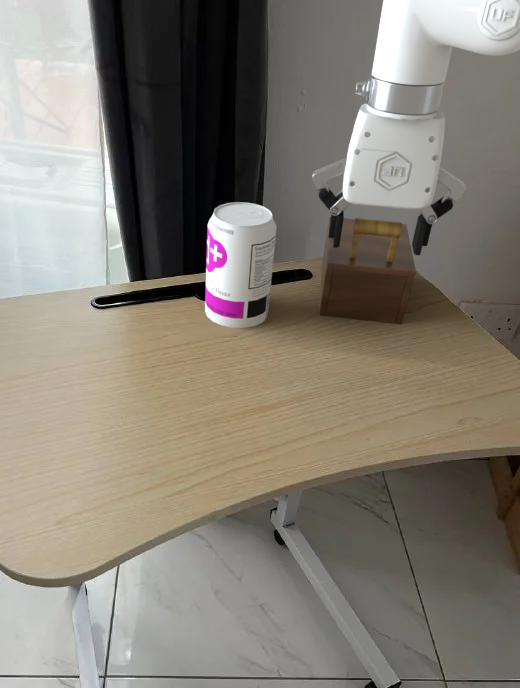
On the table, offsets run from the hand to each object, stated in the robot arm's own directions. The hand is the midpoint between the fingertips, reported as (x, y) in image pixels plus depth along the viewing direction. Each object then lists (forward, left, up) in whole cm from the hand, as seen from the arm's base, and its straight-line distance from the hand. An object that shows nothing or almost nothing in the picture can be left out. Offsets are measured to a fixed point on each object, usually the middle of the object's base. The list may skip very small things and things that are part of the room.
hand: (375, 246), depth 80 cm
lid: (0, -5, -3) cm, 6 cm away
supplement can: (+16, +2, -12) cm, 20 cm away
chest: (0, -6, -11) cm, 13 cm away
